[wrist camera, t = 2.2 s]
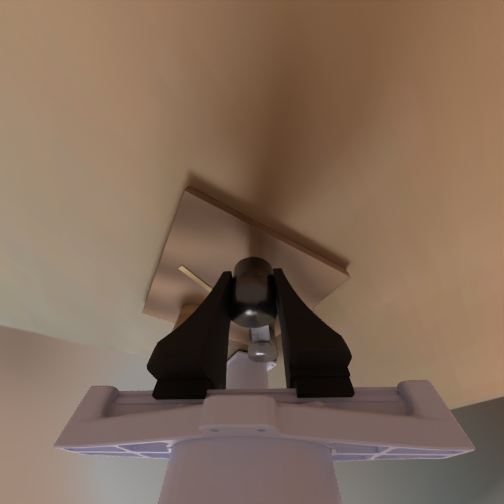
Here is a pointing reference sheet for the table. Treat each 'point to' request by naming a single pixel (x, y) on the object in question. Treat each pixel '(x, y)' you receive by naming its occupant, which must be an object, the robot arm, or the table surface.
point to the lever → (255, 306)
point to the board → (229, 260)
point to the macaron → (185, 314)
